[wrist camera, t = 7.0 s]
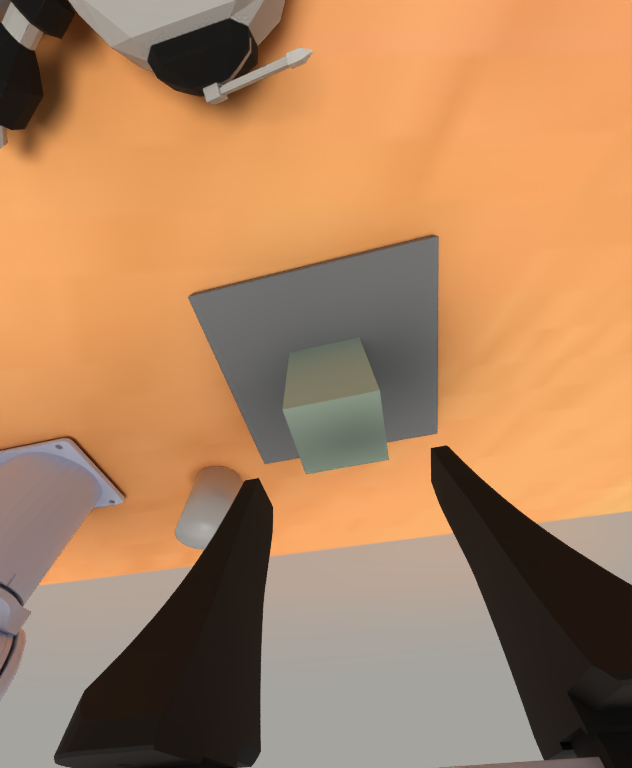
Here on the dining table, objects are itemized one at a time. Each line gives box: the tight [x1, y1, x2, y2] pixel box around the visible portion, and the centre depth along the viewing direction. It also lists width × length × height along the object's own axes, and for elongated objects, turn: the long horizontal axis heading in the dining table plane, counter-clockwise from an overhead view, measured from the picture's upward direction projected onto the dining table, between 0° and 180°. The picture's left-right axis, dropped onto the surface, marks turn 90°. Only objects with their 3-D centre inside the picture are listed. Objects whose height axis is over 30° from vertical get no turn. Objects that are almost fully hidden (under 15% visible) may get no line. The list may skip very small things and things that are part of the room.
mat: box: [188, 235, 438, 464], centre depth 20 cm, size 14×14×1 cm
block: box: [282, 338, 389, 474], centre depth 17 cm, size 4×4×6 cm
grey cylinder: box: [175, 466, 242, 550], centre depth 24 cm, size 4×4×5 cm
